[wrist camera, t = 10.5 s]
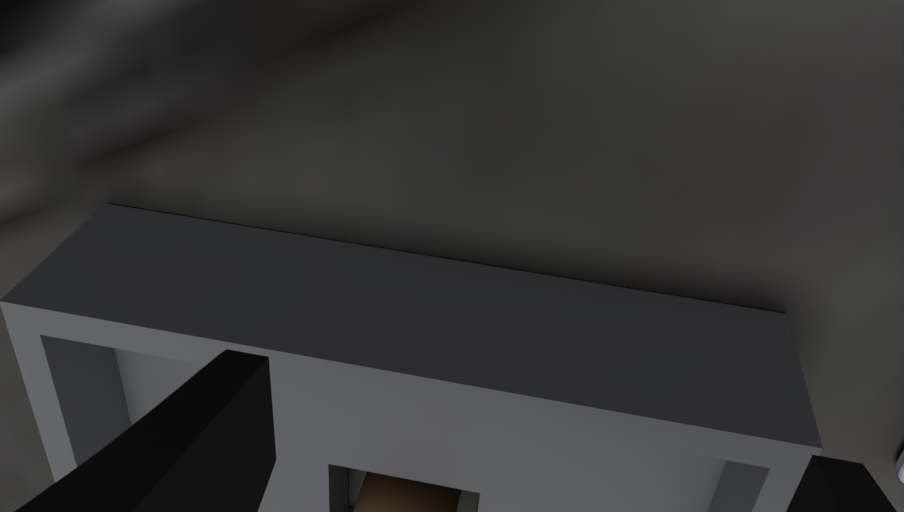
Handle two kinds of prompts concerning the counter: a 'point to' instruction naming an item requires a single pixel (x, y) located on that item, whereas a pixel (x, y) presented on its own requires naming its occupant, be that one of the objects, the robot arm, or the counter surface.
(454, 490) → the peg
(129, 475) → the robot arm
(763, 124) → the counter surface
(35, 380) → the box
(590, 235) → the counter surface
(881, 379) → the counter surface
